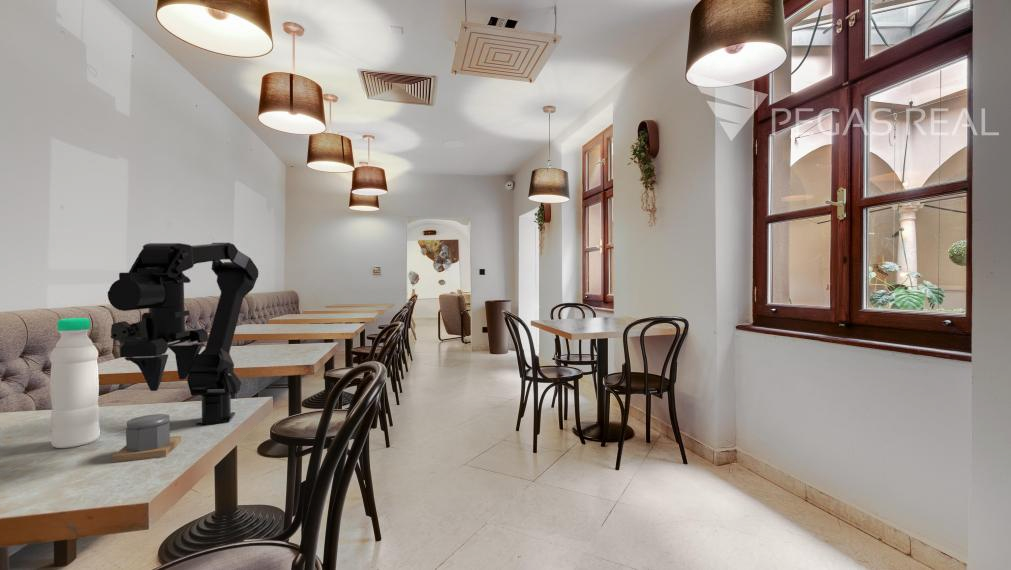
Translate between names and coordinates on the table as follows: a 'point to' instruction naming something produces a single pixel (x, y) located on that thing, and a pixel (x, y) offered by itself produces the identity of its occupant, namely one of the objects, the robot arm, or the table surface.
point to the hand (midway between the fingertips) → (169, 384)
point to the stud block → (147, 452)
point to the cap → (147, 432)
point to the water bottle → (74, 386)
